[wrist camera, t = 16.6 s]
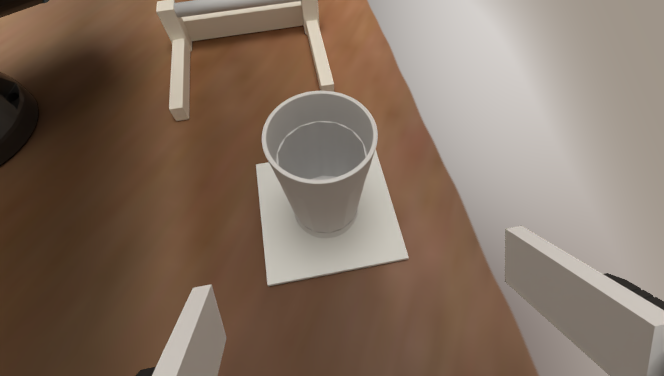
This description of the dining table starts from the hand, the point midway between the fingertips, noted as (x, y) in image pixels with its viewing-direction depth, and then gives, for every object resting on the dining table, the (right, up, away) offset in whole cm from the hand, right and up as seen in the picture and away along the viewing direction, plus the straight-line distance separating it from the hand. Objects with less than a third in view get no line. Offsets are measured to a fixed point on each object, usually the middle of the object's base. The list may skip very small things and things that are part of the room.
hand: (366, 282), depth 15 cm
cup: (-2, +2, +19) cm, 20 cm away
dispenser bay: (-12, +21, +30) cm, 38 cm away
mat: (-2, +2, +20) cm, 20 cm away
